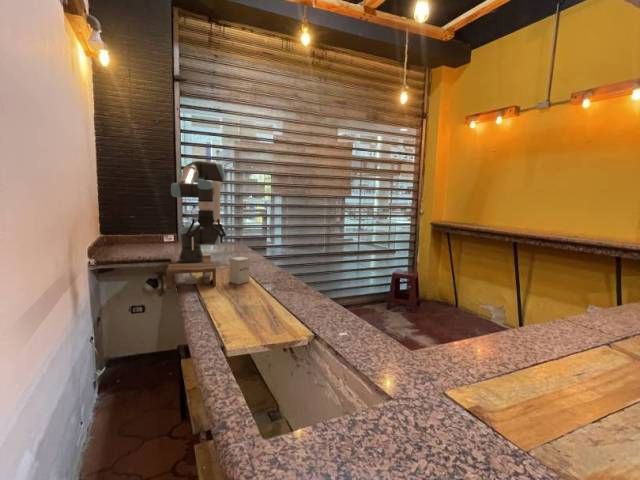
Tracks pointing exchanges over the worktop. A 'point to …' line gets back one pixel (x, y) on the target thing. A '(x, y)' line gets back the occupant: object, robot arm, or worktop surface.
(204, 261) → the tan wood-grain block
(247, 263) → the grey canister
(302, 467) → the worktop surface
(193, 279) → the brown square block
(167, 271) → the brown wooden stand
